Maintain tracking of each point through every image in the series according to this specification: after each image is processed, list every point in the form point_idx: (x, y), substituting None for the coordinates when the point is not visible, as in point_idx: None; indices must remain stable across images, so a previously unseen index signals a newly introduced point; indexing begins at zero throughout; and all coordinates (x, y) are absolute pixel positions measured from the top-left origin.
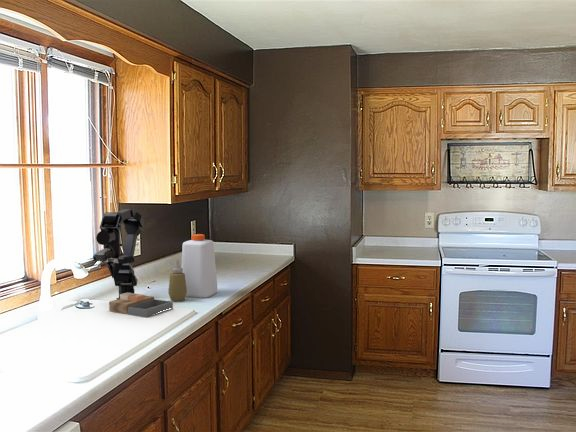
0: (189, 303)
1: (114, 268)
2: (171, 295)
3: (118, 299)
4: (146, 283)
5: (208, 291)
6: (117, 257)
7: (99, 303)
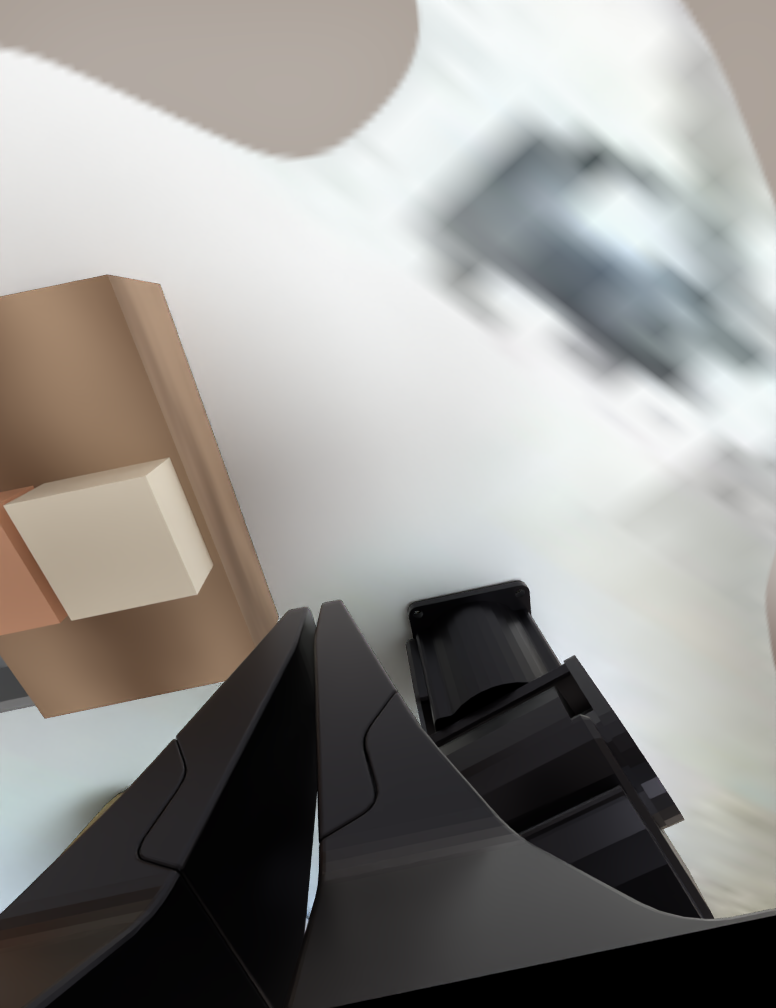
0: (13, 820)
1: (86, 839)
2: None
3: (159, 433)
4: (702, 881)
5: None
6: None
7: (535, 416)
